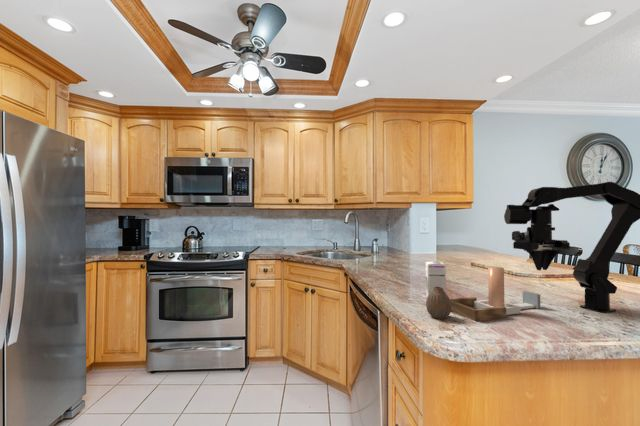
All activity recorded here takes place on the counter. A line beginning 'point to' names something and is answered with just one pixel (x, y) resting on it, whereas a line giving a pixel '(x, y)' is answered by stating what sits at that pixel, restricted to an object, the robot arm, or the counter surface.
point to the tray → (528, 302)
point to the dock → (476, 310)
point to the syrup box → (435, 276)
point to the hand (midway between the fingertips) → (541, 270)
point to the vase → (438, 303)
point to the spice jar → (496, 286)
